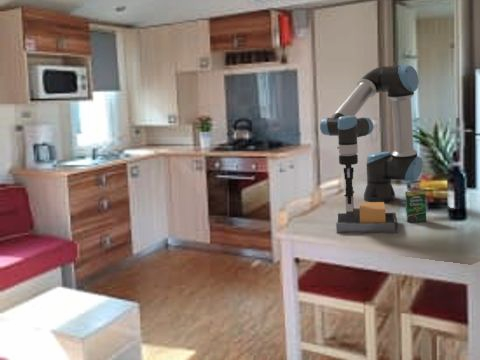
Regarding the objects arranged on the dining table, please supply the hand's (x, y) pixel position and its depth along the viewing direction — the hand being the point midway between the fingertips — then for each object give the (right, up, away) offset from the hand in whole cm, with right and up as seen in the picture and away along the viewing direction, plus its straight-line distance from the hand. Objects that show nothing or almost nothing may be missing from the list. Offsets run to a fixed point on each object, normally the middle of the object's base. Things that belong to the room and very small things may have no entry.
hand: (349, 209), depth 234 cm
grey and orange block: (+7, -6, 0) cm, 9 cm away
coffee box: (+29, -5, +4) cm, 29 cm away
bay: (+7, -7, 0) cm, 10 cm away
